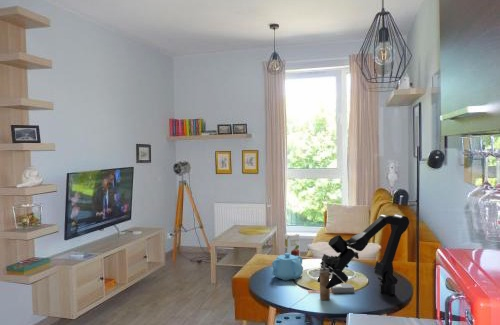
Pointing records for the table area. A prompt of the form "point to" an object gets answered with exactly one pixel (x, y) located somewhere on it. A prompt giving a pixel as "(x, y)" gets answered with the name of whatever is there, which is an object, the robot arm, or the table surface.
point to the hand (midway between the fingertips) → (322, 285)
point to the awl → (324, 283)
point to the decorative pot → (287, 267)
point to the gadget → (317, 273)
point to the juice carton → (292, 244)
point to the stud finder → (343, 288)
